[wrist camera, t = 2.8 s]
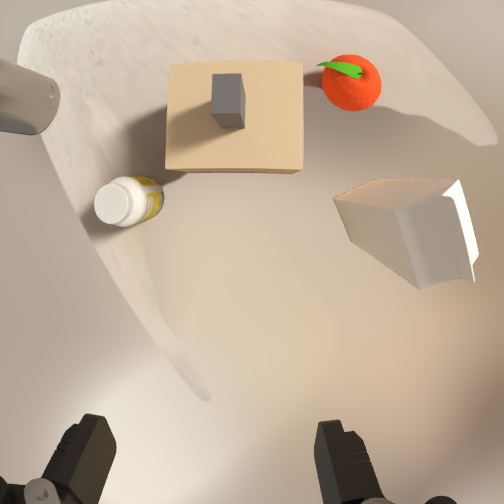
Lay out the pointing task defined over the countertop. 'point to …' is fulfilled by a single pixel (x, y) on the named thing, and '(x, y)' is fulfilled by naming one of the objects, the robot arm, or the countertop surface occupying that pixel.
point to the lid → (235, 115)
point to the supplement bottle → (128, 200)
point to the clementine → (351, 82)
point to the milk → (413, 228)
